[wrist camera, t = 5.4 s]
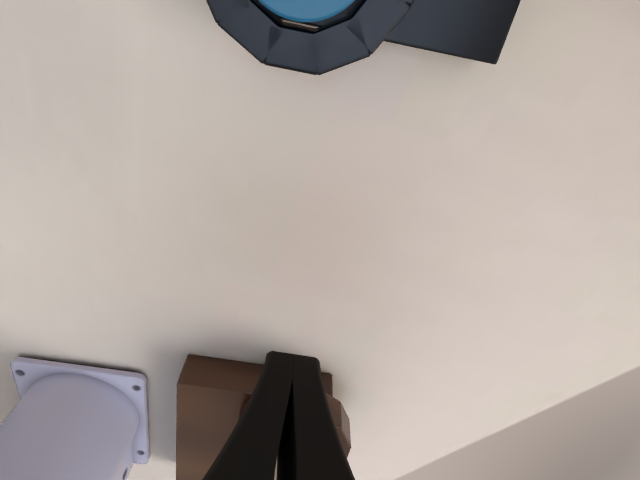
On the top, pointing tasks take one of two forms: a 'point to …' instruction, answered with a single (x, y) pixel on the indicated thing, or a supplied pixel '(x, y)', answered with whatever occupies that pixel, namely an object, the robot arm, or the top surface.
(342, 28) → the near press
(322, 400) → the robot arm
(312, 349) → the top surface
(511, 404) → the top surface
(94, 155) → the top surface
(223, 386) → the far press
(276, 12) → the near button
